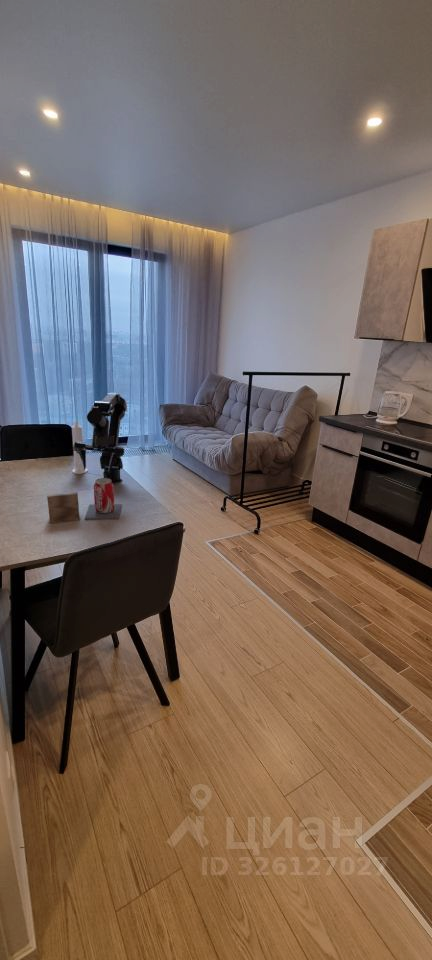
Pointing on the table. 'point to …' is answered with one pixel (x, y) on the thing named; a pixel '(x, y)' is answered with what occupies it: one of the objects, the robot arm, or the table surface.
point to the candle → (76, 436)
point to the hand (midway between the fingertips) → (97, 470)
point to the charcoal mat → (95, 515)
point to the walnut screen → (63, 507)
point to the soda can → (104, 495)
